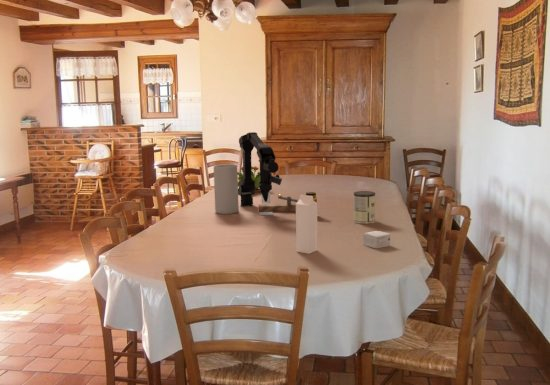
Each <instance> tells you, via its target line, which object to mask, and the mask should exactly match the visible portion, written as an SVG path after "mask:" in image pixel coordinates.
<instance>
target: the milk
mask: <svg viewBox="0 0 550 385" xmlns="http://www.w3.org/2000/svg"><path fill="white" fill-rule="evenodd" d="M298 200H299V201H298V202H295V204H296V211H295V227H296V228H295V230H296V232H295V234H296V235H295V236H296V238H295V240H296V246H295V247H296V250H295V251H296V252H297V253H303V254H308V255H309V254H312V253H314V252H315V253H316V252H317V251H318V216H317V215H318V203H316V202H315V201H314V200H313V196H308V195H306V194H300V195H299V199H298Z"/></svg>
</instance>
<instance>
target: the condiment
mask: <svg viewBox="0 0 550 385" xmlns="http://www.w3.org/2000/svg"><path fill="white" fill-rule="evenodd" d="M305 195H308V196H313V200H314V201H315V202H316V203H317V202H318V198H317V192H315V191H308V192H305ZM317 204H318V203H317ZM317 217H320V215H319V214H317Z"/></svg>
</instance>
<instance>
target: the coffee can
mask: <svg viewBox="0 0 550 385" xmlns="http://www.w3.org/2000/svg"><path fill="white" fill-rule="evenodd" d="M353 222H354V223H355V224H367V225H368V224H373V223H375V222H376V192H375V191H371V190H365V191H364V190H362V191H361V190H360V191H354V192H353Z"/></svg>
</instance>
